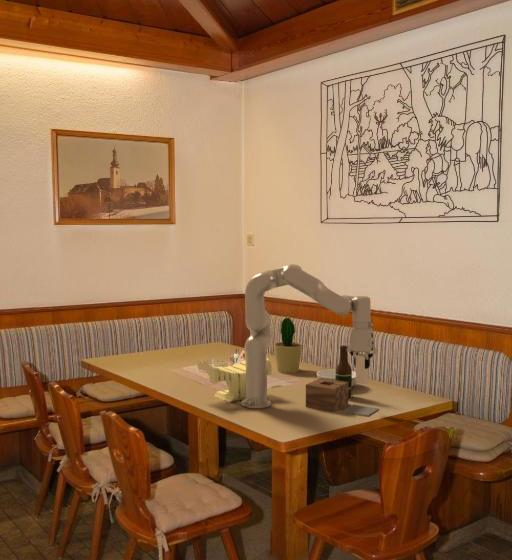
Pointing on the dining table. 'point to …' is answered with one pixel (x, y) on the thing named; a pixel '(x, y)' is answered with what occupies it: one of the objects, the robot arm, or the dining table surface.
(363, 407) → the rubber mat
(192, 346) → the dining table surface
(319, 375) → the serving bowl
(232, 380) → the slatted curved stool
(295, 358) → the potted cactus
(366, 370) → the square peg
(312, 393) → the wooden square ring
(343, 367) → the beer bottle
